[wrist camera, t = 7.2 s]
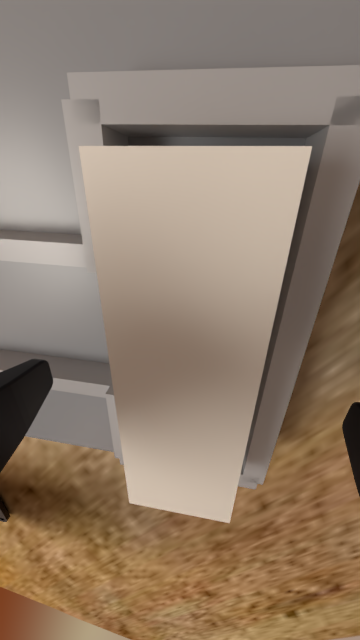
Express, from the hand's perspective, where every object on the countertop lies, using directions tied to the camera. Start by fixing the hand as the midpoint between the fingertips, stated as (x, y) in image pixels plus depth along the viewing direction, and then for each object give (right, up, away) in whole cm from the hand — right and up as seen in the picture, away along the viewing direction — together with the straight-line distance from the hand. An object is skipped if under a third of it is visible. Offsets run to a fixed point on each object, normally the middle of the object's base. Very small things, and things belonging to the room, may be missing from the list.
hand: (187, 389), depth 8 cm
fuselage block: (+1, +2, +3) cm, 4 cm away
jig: (-3, +3, +5) cm, 6 cm away
